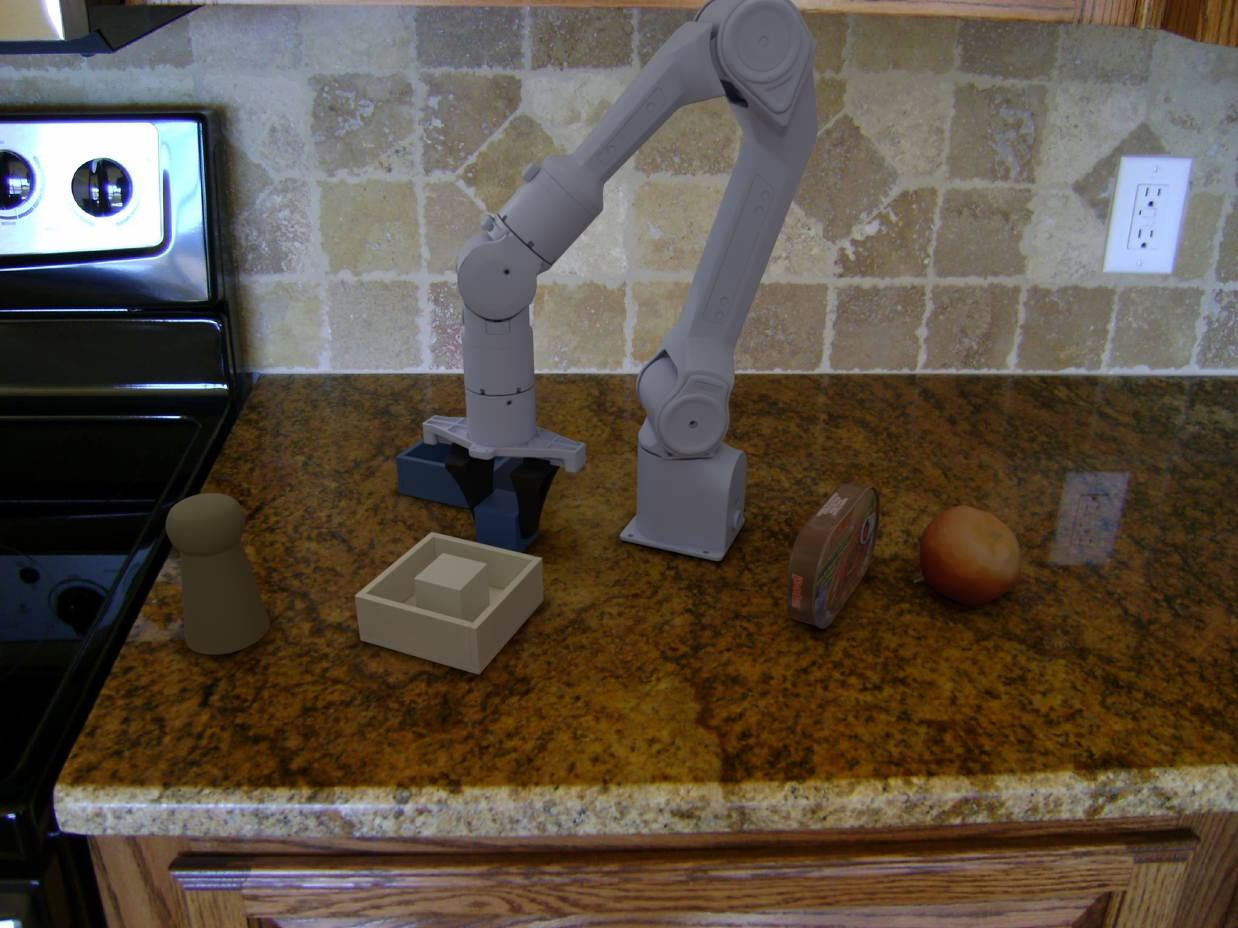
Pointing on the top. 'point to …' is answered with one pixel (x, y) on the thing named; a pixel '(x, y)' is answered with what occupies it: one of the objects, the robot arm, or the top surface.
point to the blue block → (500, 522)
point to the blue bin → (442, 474)
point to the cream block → (453, 587)
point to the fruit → (969, 556)
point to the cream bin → (440, 637)
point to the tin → (832, 554)
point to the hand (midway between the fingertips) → (506, 528)
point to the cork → (216, 575)
